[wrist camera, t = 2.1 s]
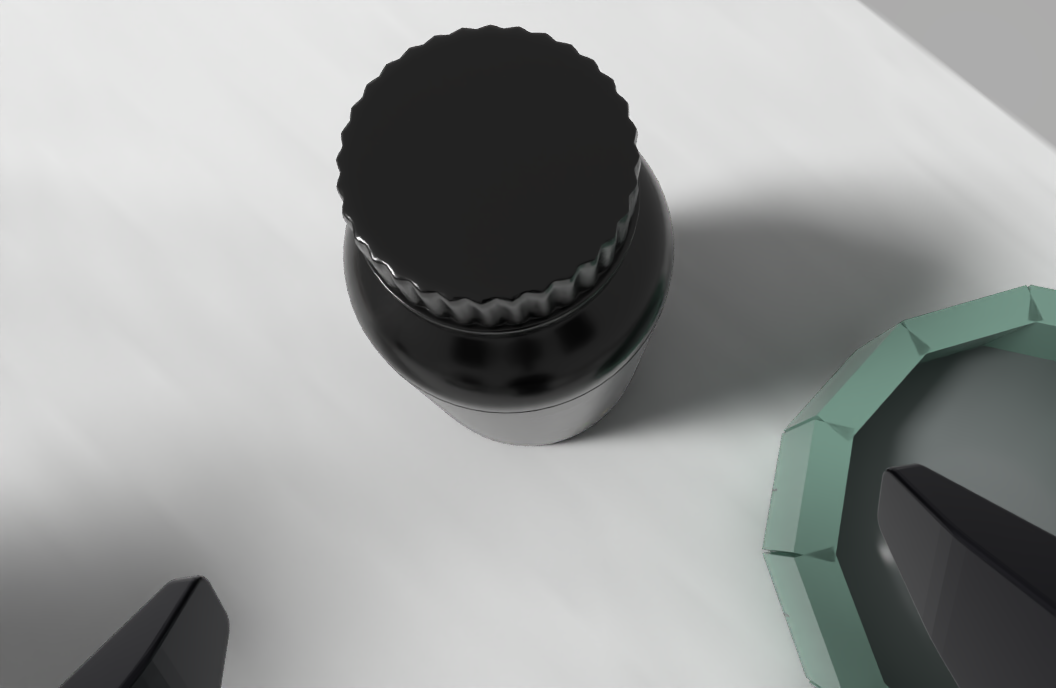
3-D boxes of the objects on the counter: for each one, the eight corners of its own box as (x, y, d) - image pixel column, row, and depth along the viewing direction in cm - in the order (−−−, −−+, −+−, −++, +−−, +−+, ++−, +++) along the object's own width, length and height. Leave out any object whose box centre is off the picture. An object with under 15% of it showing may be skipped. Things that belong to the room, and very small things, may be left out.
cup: (1074, 937, 18) (1172, 1017, 15) (674, 552, 21) (690, 555, 18) (1359, 545, 20) (1497, 549, 17) (954, 240, 22) (1011, 197, 20)
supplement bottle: (379, 334, 23) (180, 138, 11) (539, 201, 24) (506, -110, 12) (519, 499, 21) (455, 467, 10) (685, 351, 22) (808, 158, 11)
